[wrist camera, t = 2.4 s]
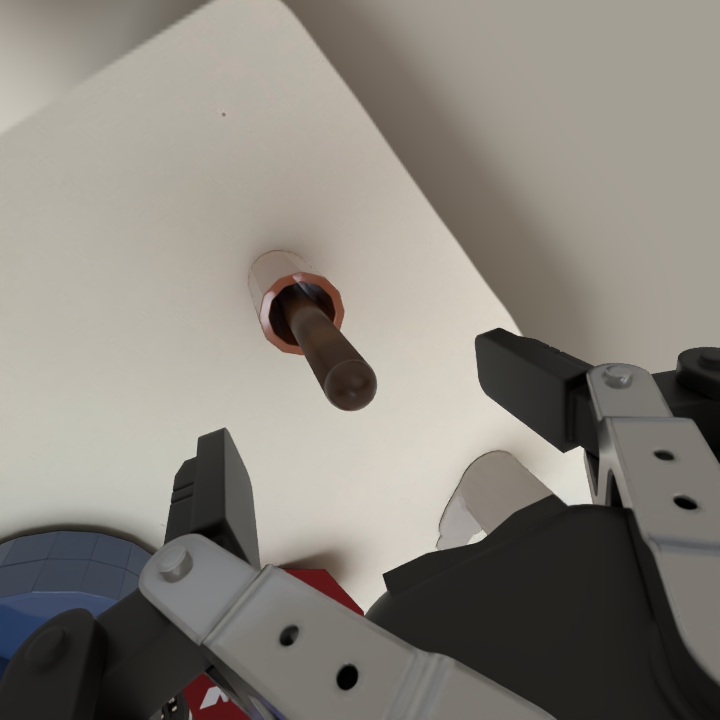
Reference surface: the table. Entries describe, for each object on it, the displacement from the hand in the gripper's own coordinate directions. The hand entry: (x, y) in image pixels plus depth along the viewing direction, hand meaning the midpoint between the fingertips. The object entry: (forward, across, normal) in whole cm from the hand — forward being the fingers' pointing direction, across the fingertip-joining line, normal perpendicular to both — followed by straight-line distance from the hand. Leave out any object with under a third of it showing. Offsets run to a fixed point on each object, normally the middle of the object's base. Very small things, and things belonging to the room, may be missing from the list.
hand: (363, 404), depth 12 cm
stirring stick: (+18, 0, 0) cm, 18 cm away
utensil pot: (+19, 0, 0) cm, 19 cm away
